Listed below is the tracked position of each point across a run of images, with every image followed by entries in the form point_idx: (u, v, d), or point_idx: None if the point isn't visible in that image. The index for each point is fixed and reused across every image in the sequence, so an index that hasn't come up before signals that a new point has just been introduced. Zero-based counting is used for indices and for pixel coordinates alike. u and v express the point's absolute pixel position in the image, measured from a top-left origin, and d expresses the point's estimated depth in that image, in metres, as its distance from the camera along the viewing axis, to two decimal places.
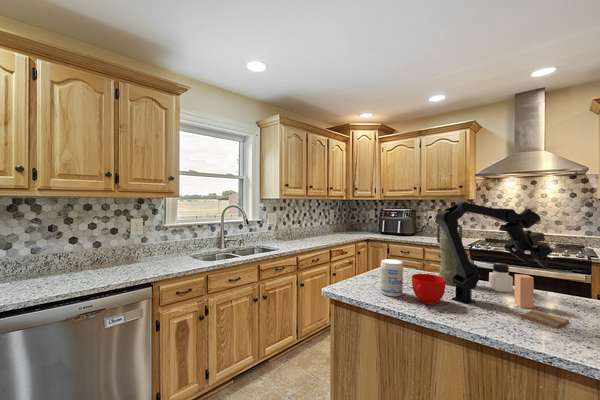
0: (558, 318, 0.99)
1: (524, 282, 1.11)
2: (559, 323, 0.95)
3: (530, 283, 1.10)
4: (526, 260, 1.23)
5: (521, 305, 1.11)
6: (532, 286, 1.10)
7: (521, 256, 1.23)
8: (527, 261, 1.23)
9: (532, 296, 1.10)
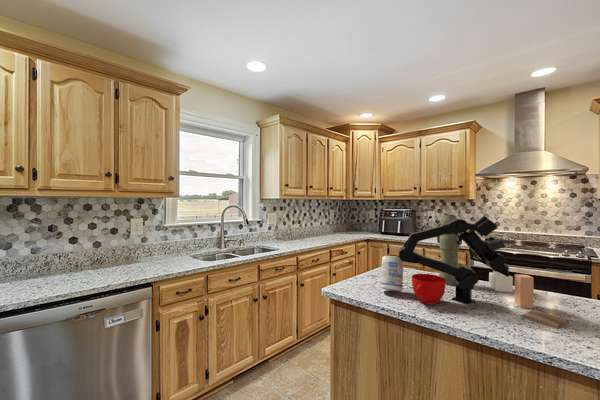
0: (558, 318, 0.99)
1: (524, 282, 1.11)
2: (559, 323, 0.95)
3: (530, 283, 1.10)
4: None
5: (521, 305, 1.11)
6: (532, 286, 1.10)
7: None
8: None
9: (532, 296, 1.10)
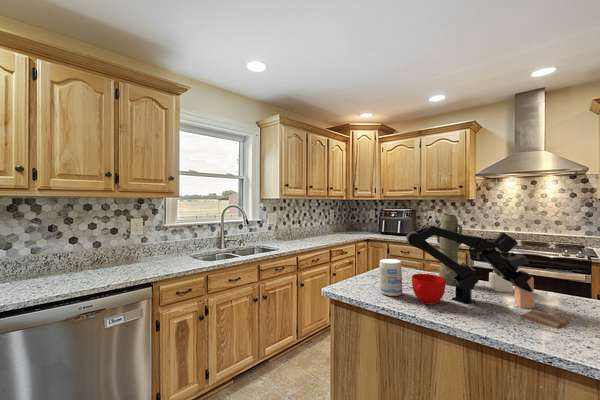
0: (558, 318, 0.99)
1: None
2: (559, 323, 0.95)
3: (530, 283, 1.10)
4: None
5: (521, 305, 1.11)
6: (532, 286, 1.10)
7: None
8: None
9: (532, 296, 1.10)
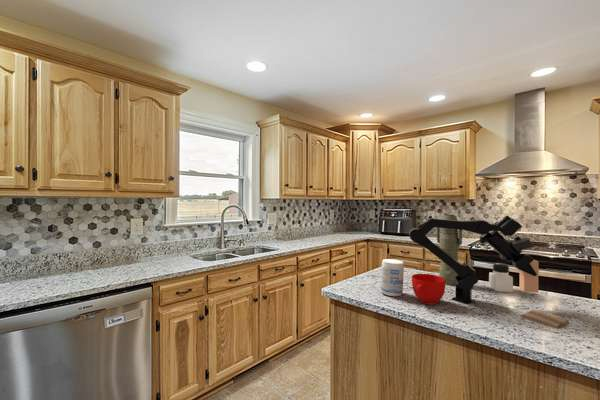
0: (558, 318, 0.99)
1: None
2: (559, 323, 0.95)
3: (534, 267, 1.08)
4: None
5: (525, 289, 1.09)
6: (537, 270, 1.08)
7: None
8: None
9: (537, 280, 1.08)
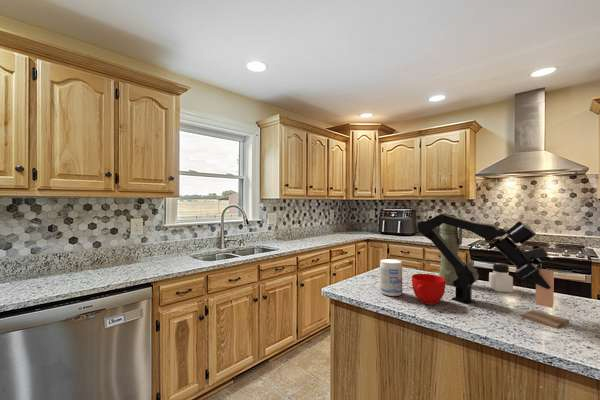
0: (558, 318, 0.99)
1: None
2: (559, 323, 0.95)
3: (548, 279, 0.97)
4: None
5: (537, 302, 1.00)
6: (551, 283, 0.97)
7: None
8: None
9: (551, 294, 0.97)
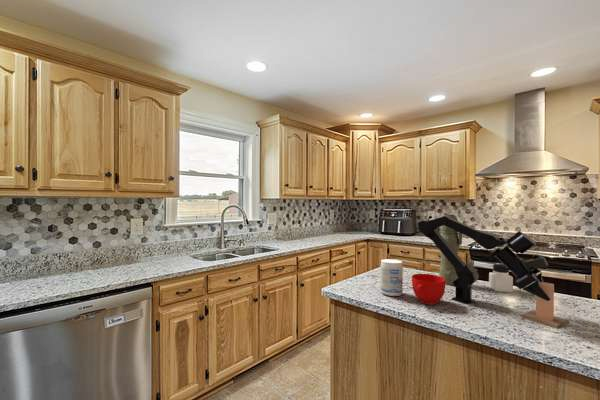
0: (558, 318, 0.99)
1: None
2: (559, 323, 0.95)
3: (548, 292, 0.97)
4: None
5: (537, 315, 1.00)
6: (551, 296, 0.97)
7: None
8: None
9: (552, 307, 0.97)
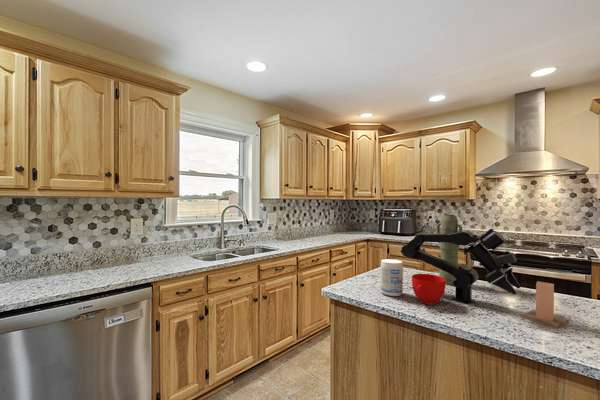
0: (558, 318, 0.99)
1: (541, 290, 0.99)
2: (559, 323, 0.95)
3: (548, 292, 0.97)
4: (516, 284, 1.09)
5: (537, 315, 1.00)
6: (551, 296, 0.97)
7: (509, 280, 1.11)
8: (517, 286, 1.09)
9: (552, 307, 0.97)
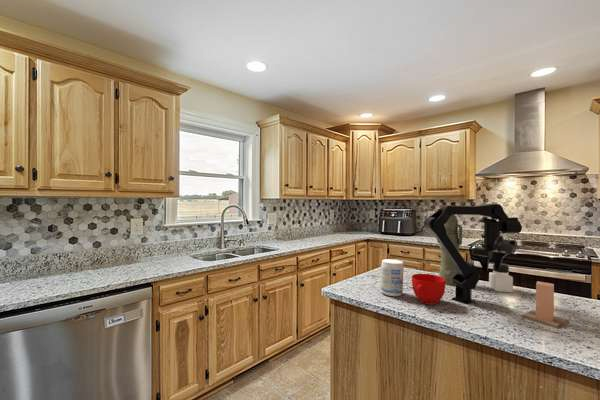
0: (558, 318, 0.99)
1: (541, 290, 0.99)
2: (559, 323, 0.95)
3: (548, 292, 0.97)
4: (497, 265, 1.20)
5: (537, 315, 1.00)
6: (551, 296, 0.97)
7: (495, 259, 1.21)
8: (497, 267, 1.20)
9: (552, 307, 0.97)
